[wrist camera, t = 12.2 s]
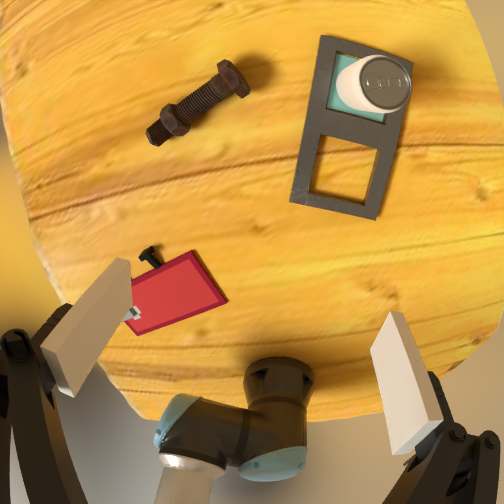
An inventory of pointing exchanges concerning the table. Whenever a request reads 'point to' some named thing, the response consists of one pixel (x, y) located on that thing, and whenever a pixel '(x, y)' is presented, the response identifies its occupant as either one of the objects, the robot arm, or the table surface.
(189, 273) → the red board with handle
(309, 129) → the grey flat frame
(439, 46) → the table surface
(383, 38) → the table surface
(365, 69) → the can
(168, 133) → the bolt
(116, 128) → the table surface
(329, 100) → the pad
